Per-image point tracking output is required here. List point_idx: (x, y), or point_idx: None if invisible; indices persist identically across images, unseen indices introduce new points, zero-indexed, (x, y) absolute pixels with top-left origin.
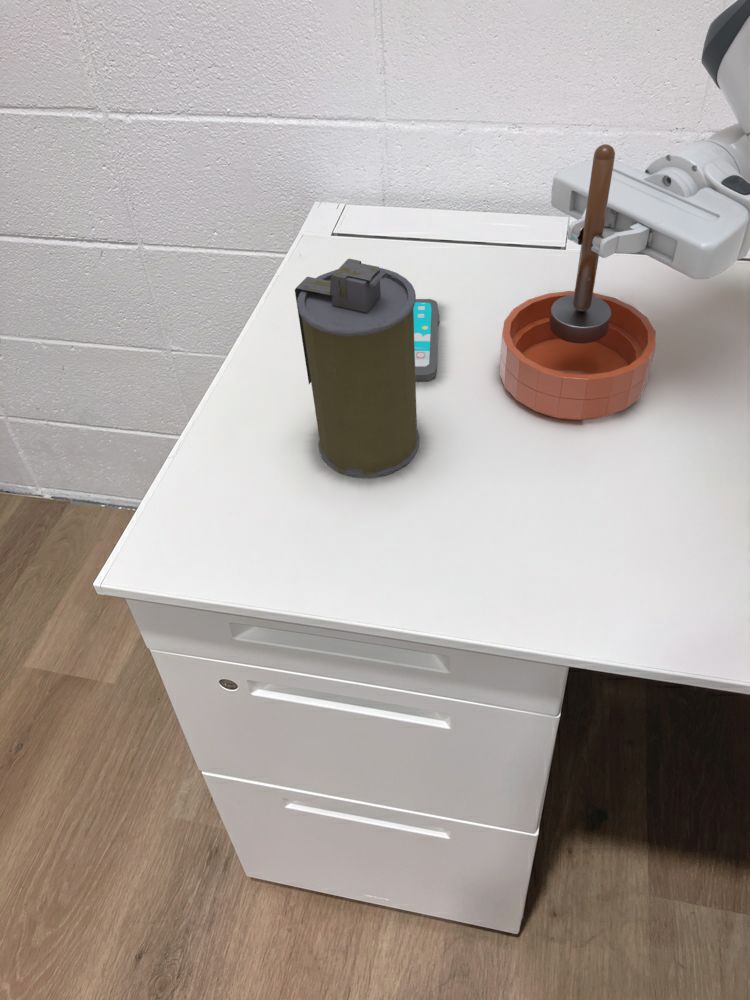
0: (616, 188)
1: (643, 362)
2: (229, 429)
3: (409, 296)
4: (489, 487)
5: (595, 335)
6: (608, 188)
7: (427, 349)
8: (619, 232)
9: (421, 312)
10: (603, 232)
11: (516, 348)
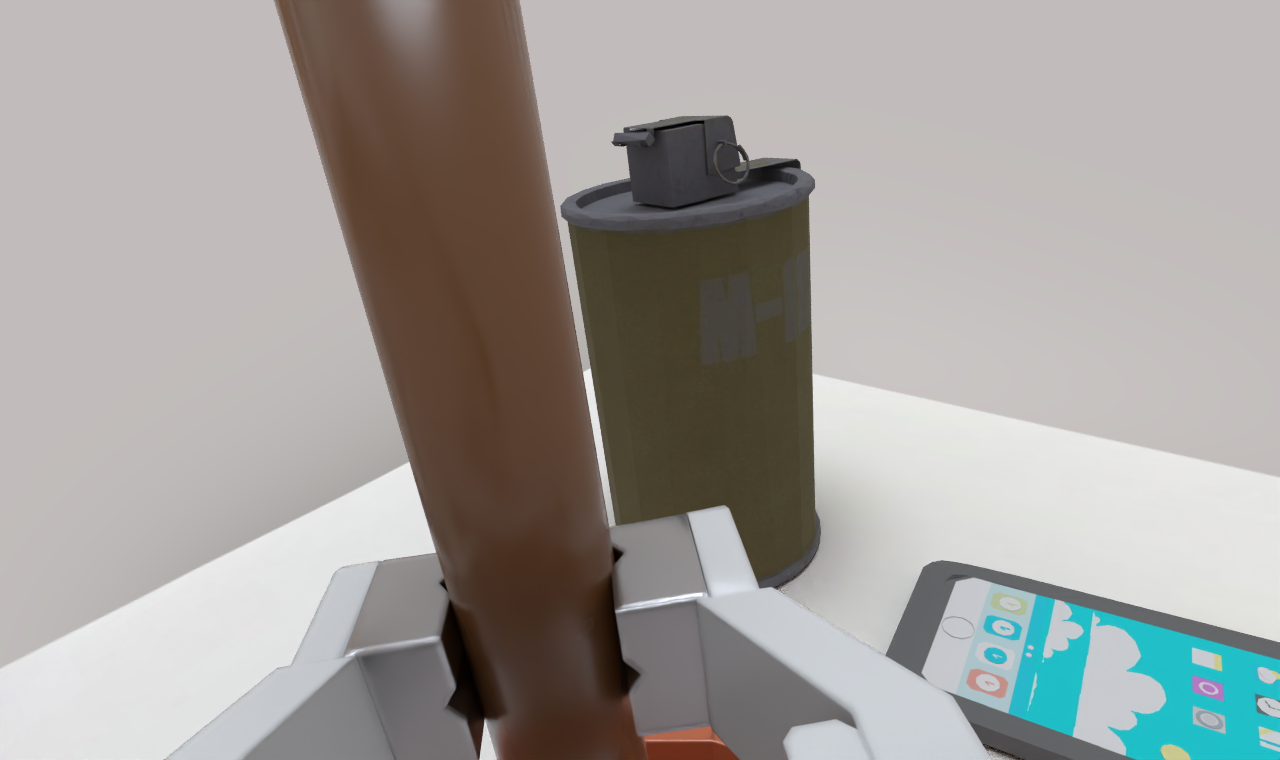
0: None
1: None
2: (854, 411)
3: (618, 213)
4: None
5: None
6: (328, 180)
7: (1018, 711)
8: (300, 689)
9: None
10: (435, 602)
11: (695, 740)
